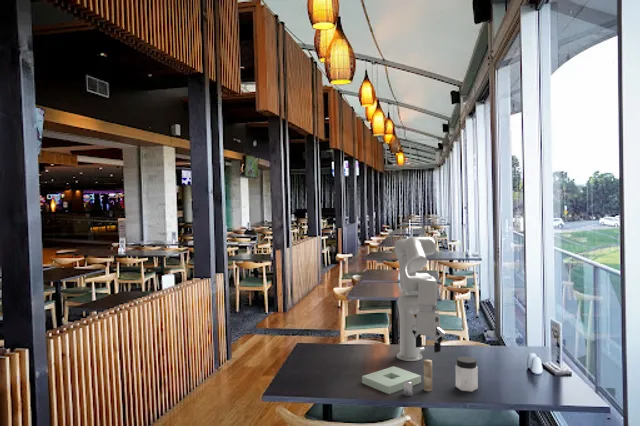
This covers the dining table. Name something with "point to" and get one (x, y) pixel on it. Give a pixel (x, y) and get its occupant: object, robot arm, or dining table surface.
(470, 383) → the jar
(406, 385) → the steel pin
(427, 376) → the birch pin
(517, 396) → the dining table surface
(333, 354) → the dining table surface
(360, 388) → the dining table surface
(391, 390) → the hole board
